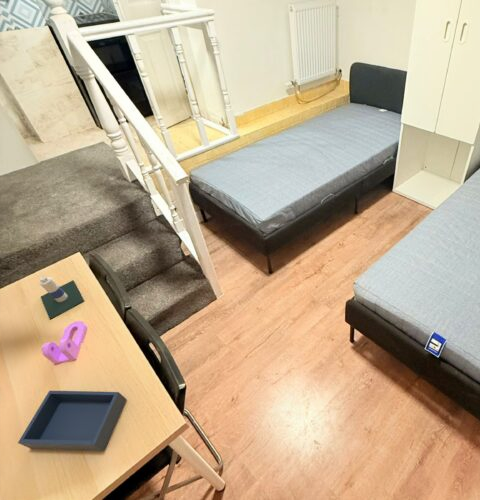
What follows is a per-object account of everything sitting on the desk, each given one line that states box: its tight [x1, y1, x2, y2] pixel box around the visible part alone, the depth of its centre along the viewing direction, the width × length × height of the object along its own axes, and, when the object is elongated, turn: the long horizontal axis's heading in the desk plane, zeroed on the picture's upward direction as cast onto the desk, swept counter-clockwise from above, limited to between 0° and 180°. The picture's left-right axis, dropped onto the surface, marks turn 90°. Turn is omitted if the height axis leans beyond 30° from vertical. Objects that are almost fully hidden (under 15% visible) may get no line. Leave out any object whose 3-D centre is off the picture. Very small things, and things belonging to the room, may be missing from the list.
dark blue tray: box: [17, 390, 127, 452], centre depth 79 cm, size 18×12×5 cm, turn 88°
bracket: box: [41, 320, 88, 365], centre depth 95 cm, size 13×6×7 cm, turn 13°
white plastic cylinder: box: [38, 275, 68, 302], centre depth 105 cm, size 3×3×10 cm
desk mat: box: [40, 279, 85, 321], centre depth 108 cm, size 12×10×1 cm
